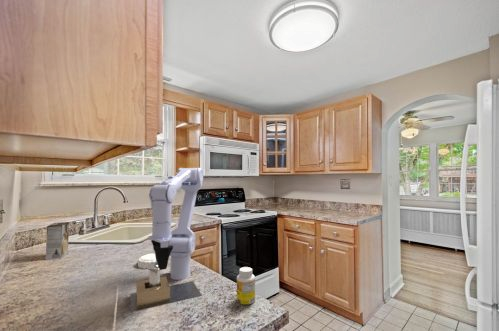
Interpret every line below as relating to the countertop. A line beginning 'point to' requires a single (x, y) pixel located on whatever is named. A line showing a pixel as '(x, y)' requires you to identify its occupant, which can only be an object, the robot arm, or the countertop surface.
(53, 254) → the coffee box
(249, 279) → the supplement bottle
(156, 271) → the steel pin
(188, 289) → the clevis base
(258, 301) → the countertop surface
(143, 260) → the mooncake
